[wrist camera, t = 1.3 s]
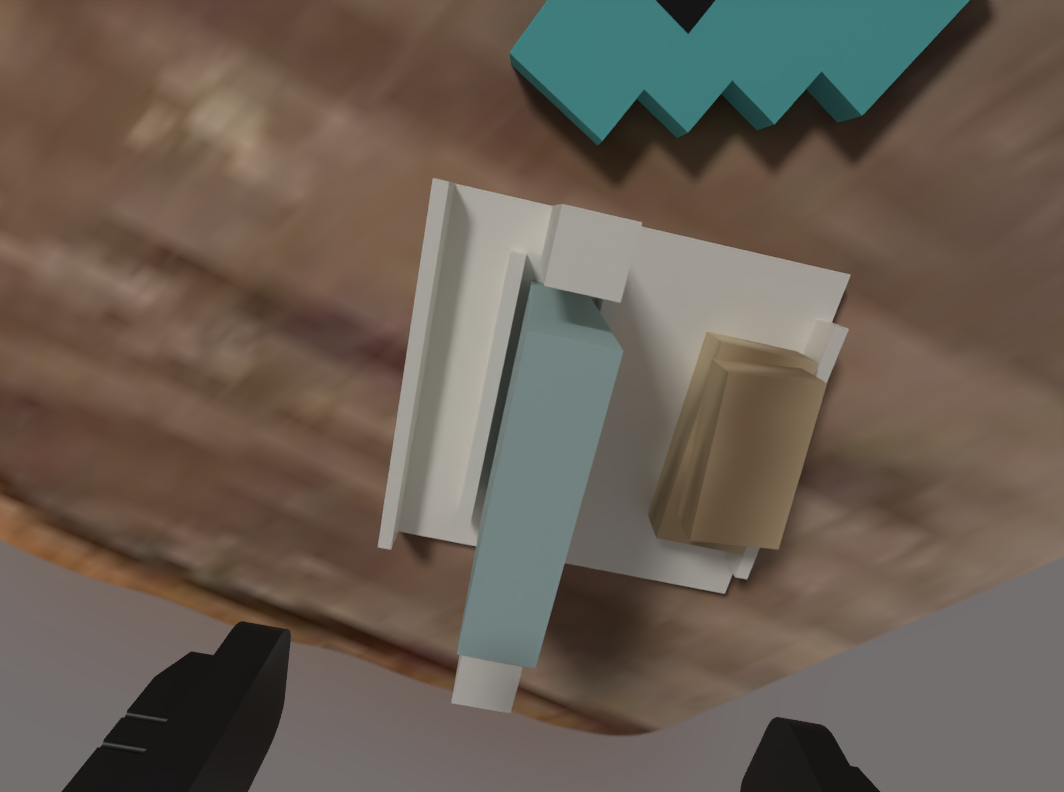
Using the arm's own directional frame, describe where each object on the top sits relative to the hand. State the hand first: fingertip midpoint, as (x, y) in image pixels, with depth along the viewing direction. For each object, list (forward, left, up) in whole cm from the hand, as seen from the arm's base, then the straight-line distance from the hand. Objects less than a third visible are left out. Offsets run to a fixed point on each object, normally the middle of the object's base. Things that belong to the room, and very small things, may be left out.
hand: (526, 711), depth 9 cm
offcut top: (-9, 0, -14) cm, 17 cm away
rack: (-3, 0, -17) cm, 17 cm away
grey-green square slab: (0, 0, -16) cm, 16 cm away
